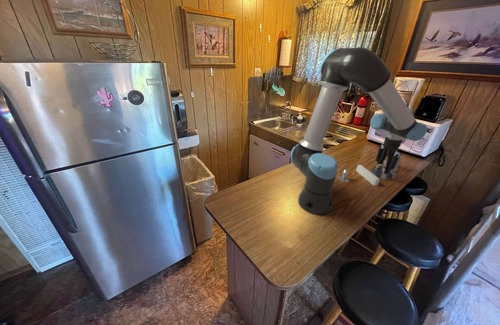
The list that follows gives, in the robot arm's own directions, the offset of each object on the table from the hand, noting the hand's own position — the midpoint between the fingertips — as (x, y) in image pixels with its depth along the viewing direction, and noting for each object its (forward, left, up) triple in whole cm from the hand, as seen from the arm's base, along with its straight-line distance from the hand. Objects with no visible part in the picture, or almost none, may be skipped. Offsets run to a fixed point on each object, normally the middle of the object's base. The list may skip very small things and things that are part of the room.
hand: (379, 175), depth 114 cm
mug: (+12, +9, -1) cm, 15 cm away
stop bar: (-1, 0, 0) cm, 1 cm away
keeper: (0, 0, -1) cm, 1 cm away
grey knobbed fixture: (-23, 0, -1) cm, 23 cm away
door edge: (-9, 0, -1) cm, 9 cm away
